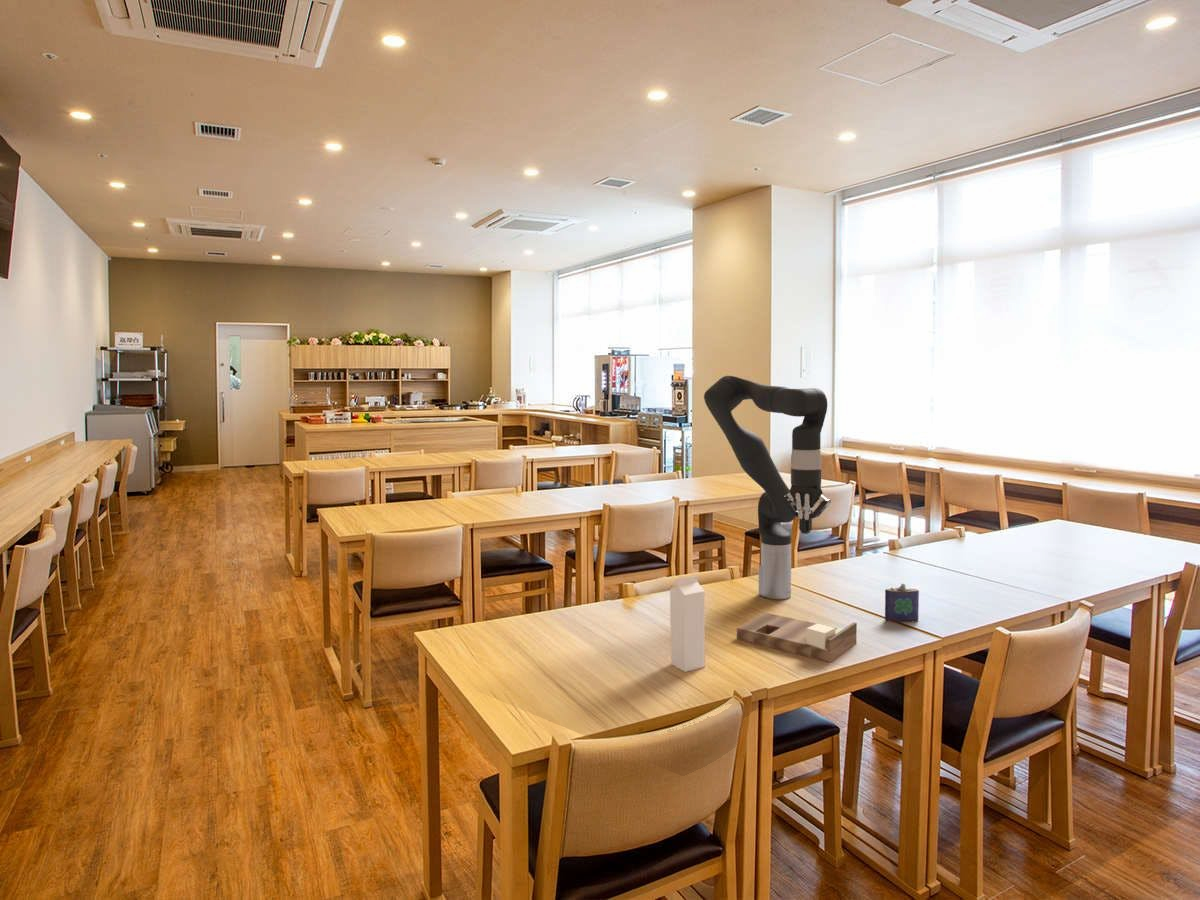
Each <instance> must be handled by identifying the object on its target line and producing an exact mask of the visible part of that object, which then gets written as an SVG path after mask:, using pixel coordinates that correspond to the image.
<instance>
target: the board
mask: <svg viewBox="0 0 1200 900" xmlns="http://www.w3.org/2000/svg"><path fill="white" fill-rule="evenodd" d="M815 624H817V623H815V622H812V621H811V622H810V621H806V620H801V619H798V618H797V619H796V618H792V617H788V616H784V615H779V614H773V613H769V612H765V613H762V614H761V615H758V616H757V617H755V618H753V619H751V620H748V622H745V623H744V624H741V625H740V626H738V627H736V639H737V640H740V641H743V640H744V642H747V641H748V642H749V643H751V642H752V643H753V644H756V645H759V644H760V645H761V646H764V647H767V648H772V649H775V650H779V651H783V652H788V653H791V654H795V653H796V654H795V655H799V654H800V656H803V655H804V656H803V657H807V656H808V658H811V657H813V658H812V659H815V658H817V659H816V660H819V659H820V661H823V660H825V661H824V662H827V661H828V663H832V661H835V660H836V659H837V658H839V657H840V656H841V655H842V653H843V654H844V653H845V652H847V651H848V650H850V649H851V648H853V645H854V646H855V645H856V644H857V626H858V625H857V624H858V623H857V622H854V621H853V622H852V623H850V624H849V625H848V626H846V627H845V628H839V627H838V628H837V627H834V626H832V627H833V628H835V635H834V636H832V637H831V638H829V639H828V640H827V648H826V649H823V648H819V647H816V646H812V645H809V644H807V628H808V627H811V626H813V625H815ZM829 627H831V626H829ZM850 647H851V648H850ZM846 650H847V651H846ZM835 658H836V659H835Z"/></svg>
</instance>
